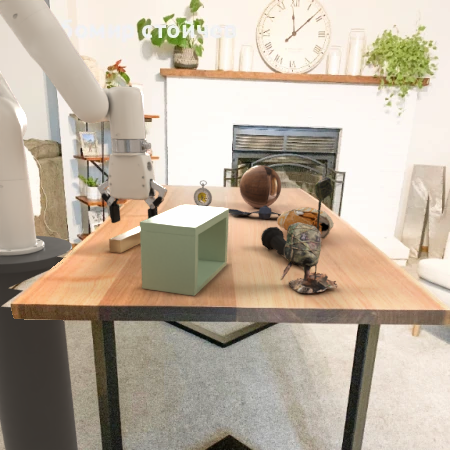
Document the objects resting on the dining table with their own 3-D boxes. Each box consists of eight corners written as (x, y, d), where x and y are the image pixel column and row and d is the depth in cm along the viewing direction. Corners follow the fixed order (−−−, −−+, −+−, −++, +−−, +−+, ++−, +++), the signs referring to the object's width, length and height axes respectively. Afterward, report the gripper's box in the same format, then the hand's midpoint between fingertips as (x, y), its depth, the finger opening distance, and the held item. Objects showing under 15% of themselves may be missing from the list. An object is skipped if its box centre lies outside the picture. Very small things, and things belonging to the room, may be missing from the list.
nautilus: (340, 253, 109) (279, 252, 110) (327, 228, 128) (275, 228, 129) (344, 221, 106) (281, 221, 107) (329, 201, 125) (276, 201, 126)
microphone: (310, 282, 95) (272, 247, 112) (322, 258, 93) (281, 226, 109) (290, 276, 93) (253, 242, 109) (301, 252, 91) (263, 220, 107)
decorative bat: (218, 204, 139) (221, 202, 149) (217, 217, 141) (220, 214, 150) (313, 209, 137) (310, 206, 147) (311, 222, 139) (308, 219, 148)
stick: (109, 251, 100) (108, 238, 99) (141, 236, 115) (141, 225, 114) (120, 253, 100) (120, 240, 99) (151, 237, 114) (151, 226, 113)
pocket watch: (189, 213, 147) (190, 182, 144) (186, 208, 155) (187, 179, 151) (214, 213, 149) (214, 182, 145) (209, 208, 157) (210, 179, 153)
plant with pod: (272, 280, 86) (281, 174, 78) (328, 280, 87) (342, 175, 80) (282, 295, 78) (293, 179, 71) (343, 295, 80) (360, 181, 72)
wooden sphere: (234, 204, 168) (235, 163, 162) (271, 204, 172) (274, 163, 166) (245, 211, 154) (247, 166, 149) (285, 211, 158) (289, 167, 153)
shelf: (141, 288, 79) (139, 221, 75) (182, 259, 97) (183, 204, 93) (194, 296, 76) (195, 227, 72) (226, 264, 94) (228, 208, 90)
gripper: (171, 147, 100) (173, 222, 107) (103, 146, 105) (109, 218, 111) (157, 149, 94) (161, 229, 100) (85, 147, 98) (93, 224, 104)
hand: (134, 223), depth 105 cm, fingers open, 9 cm apart
